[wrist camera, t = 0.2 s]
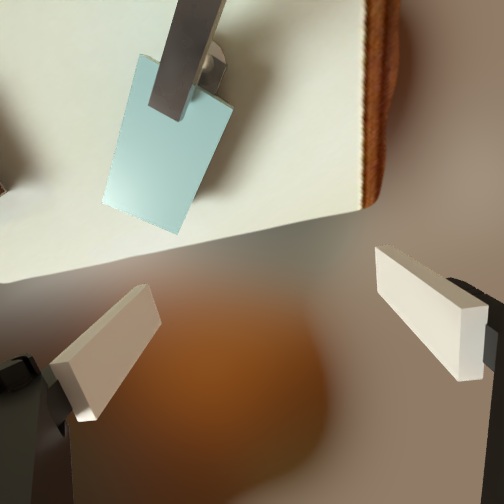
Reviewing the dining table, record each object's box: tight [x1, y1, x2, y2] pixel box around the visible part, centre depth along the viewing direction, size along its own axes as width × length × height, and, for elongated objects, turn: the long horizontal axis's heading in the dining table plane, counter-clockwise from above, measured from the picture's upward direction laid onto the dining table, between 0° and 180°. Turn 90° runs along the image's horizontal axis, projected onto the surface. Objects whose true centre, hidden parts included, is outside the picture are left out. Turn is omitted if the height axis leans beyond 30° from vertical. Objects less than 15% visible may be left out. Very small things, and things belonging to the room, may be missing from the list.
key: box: [148, 0, 226, 122], centre depth 24 cm, size 9×2×13 cm, turn 151°
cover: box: [102, 54, 234, 235], centre depth 31 cm, size 17×10×3 cm, turn 151°
